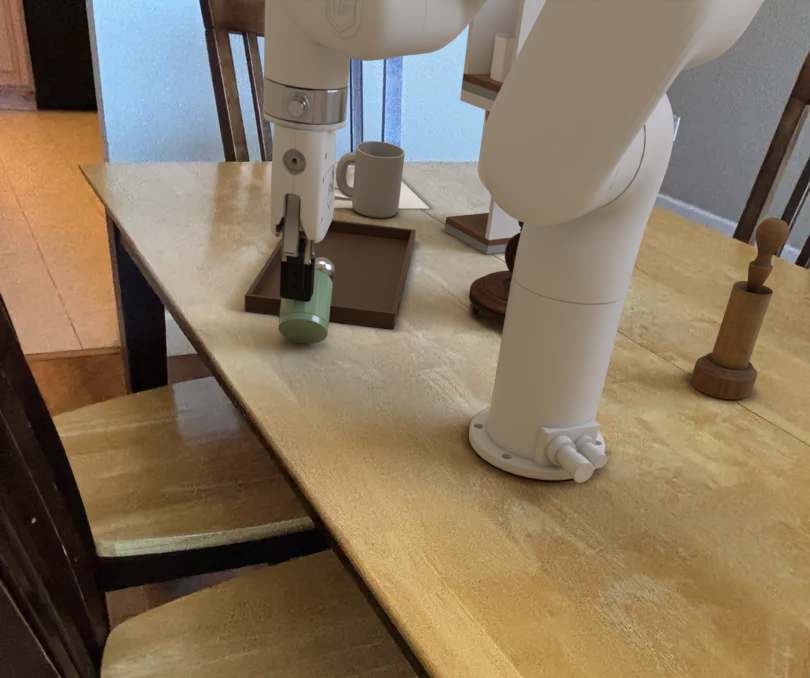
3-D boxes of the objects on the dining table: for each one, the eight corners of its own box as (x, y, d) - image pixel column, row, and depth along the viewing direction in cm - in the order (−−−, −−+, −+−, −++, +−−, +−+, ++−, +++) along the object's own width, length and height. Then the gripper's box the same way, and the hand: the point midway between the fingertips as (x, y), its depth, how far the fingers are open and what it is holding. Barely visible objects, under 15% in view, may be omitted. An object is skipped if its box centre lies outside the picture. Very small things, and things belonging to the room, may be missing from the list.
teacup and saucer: (316, 185, 144) (317, 158, 141) (363, 185, 146) (364, 159, 143) (328, 201, 137) (329, 174, 135) (377, 201, 139) (379, 174, 137)
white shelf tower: (504, 224, 136) (547, -45, 115) (548, 246, 129) (601, -35, 108) (444, 230, 130) (478, -51, 110) (486, 254, 123) (530, -41, 103)
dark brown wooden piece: (558, 352, 99) (597, 165, 87) (445, 315, 104) (467, 136, 92) (604, 314, 109) (645, 143, 97) (499, 283, 115) (526, 118, 103)
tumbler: (334, 326, 90) (338, 275, 92) (284, 314, 89) (289, 262, 90) (320, 348, 95) (325, 299, 97) (272, 336, 93) (278, 287, 95)
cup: (396, 221, 132) (402, 161, 126) (330, 212, 132) (334, 150, 126) (399, 204, 138) (406, 145, 132) (337, 195, 137) (341, 135, 131)
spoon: (313, 313, 90) (323, 220, 93) (284, 313, 90) (296, 221, 94) (329, 354, 98) (338, 267, 101) (303, 354, 98) (313, 267, 102)
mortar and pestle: (705, 367, 99) (757, 205, 88) (760, 387, 96) (821, 221, 85) (680, 385, 95) (732, 216, 84) (736, 406, 92) (798, 234, 81)
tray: (393, 329, 100) (395, 313, 98) (244, 311, 100) (244, 295, 99) (414, 243, 125) (415, 229, 124) (295, 228, 125) (295, 215, 124)
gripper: (335, 128, 73) (321, 332, 84) (356, 92, 84) (342, 276, 96) (245, 114, 72) (244, 321, 84) (279, 81, 84) (274, 266, 95)
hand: (296, 296), depth 90 cm, fingers closed
